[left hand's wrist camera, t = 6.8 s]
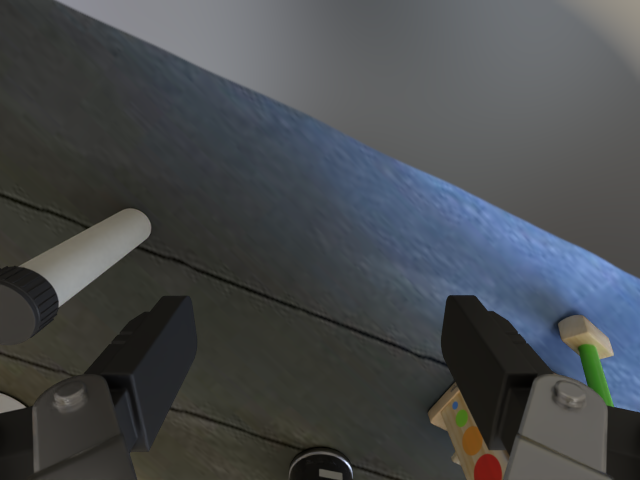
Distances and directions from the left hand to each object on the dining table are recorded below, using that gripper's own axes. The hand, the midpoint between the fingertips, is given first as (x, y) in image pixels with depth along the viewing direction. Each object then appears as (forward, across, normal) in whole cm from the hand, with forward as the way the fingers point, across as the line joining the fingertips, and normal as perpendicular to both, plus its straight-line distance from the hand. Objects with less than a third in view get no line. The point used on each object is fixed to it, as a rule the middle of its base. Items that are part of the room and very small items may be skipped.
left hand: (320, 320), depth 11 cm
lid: (+11, -21, -6) cm, 25 cm away
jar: (+29, -21, -6) cm, 37 cm away
